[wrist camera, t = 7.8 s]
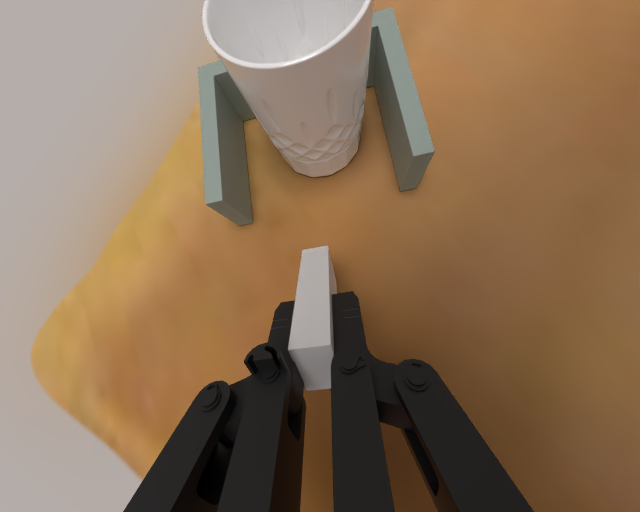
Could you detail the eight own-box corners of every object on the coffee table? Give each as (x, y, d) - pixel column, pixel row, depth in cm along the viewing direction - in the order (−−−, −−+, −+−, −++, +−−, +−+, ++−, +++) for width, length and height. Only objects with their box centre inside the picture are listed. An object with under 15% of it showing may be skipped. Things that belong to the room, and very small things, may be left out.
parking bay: (385, 70, 20) (392, 6, 16) (416, 188, 18) (435, 151, 13) (229, 113, 22) (198, 67, 18) (239, 225, 20) (205, 204, 15)
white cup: (267, 119, 21) (191, -33, 12) (352, 89, 20) (345, -103, 11) (286, 197, 19) (215, 93, 10) (380, 166, 19) (402, 21, 9)
